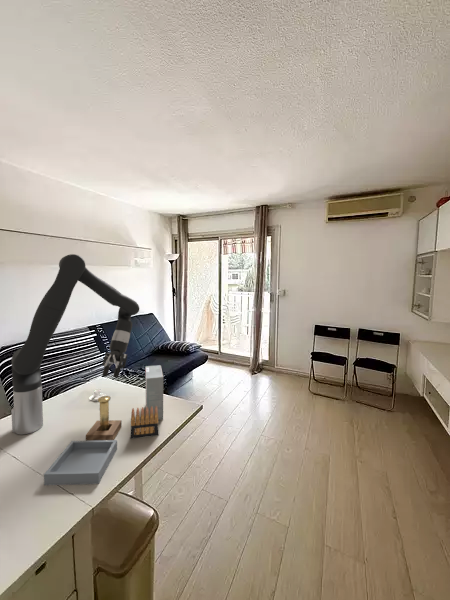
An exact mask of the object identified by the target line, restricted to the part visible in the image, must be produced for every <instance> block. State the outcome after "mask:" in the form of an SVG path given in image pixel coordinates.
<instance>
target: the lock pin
mask: <svg viewBox="0 0 450 600" xmlns="http://www.w3.org/2000/svg"><path fill="white" fill-rule="evenodd" d="M109 401H111V396H109V395H106V396H104V395H102V396H100V398H98V401H97V402H98V403H99V421H100V431H108V430H109V420H110V415H109V413H110V412H109V411H110V407H109V405H110V403H109Z"/></svg>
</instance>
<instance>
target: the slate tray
mask: <svg viewBox="0 0 450 600" xmlns="http://www.w3.org/2000/svg"><path fill="white" fill-rule="evenodd" d="M117 450H118V440H117V439H114V440H87V441H86V440H71V441H70V442H69V444H68V445H67V446H66V447H65V448H64V450H63V451H62V452H61V453H60V454H59V455H58V457H56V459H55V460H54V462H53V463H52V464H51V465H50V466H49V467H48V469H47V470H46V471H45V472H44V473H43V485H44V486H66V485H69V486H70V485H99V484H100V483H101V480H102V479H103V477H104V475H105V473H106V471H107V469H108V467H109V466H110V463H111V462H112V460H113V458H114V456H115V454H116V452H117Z"/></svg>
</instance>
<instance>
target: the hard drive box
mask: <svg viewBox="0 0 450 600" xmlns="http://www.w3.org/2000/svg"><path fill="white" fill-rule="evenodd" d="M151 406H152V407H153V415H154V413H155V407H156V406H157V409H158V421H159V420H163V419H164V373H163V370H162V365H160V364H159V365H157V364H156V365H148V366H147V365H146V366H145V408H146V407H148V410H149V420H150V409H151Z"/></svg>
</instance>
